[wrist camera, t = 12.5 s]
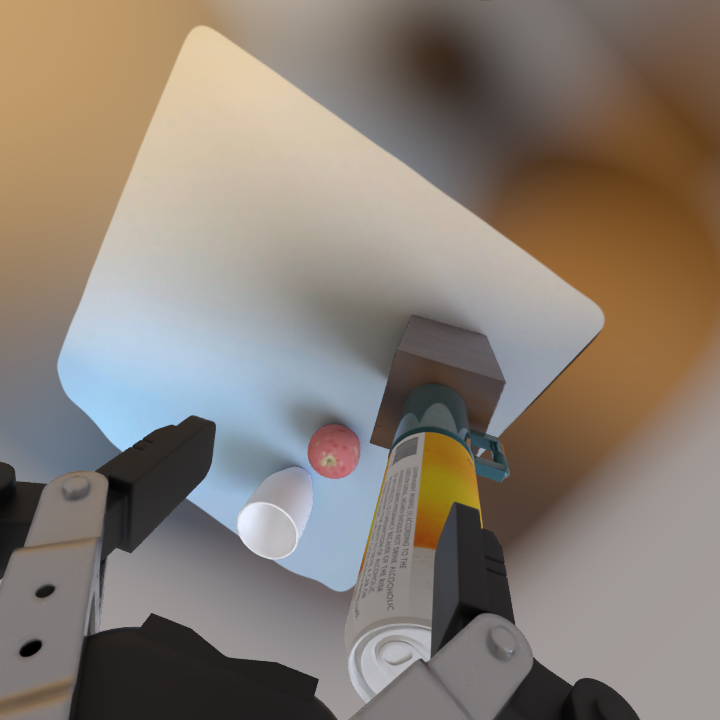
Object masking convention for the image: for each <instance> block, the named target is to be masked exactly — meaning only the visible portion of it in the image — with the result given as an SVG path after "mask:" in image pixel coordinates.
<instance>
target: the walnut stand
mask: <svg viewBox="0 0 720 720" xmlns="http://www.w3.org/2000/svg"><path fill="white" fill-rule="evenodd" d="M430 383H436V384H442V385H445V386H448V387H450V388H452V389H454V390H455V391H456V392H457V393H459V394H460V396H461V397H462V398H463V400H464V401H465V403H466V405H467V409H468V415H469V423H470V429H472V430H476V431H479V432H482V433H485V434H486V431H487V429H488V426H489V424H490V421H491V419H492V416H493V414H494V411H495V409H496V406H497V404H498V401H499V399H500V396H501V394H502V391H503V389H504V386H505V384H506V381H505V379H504V377H503V374H502V372H501V369H500V367H499V365H498V362H497V360H496V358H495V355H494V353H493V350H492V348H491V346H490V343H489V341H488V339H487V336H485V335H481V334H478V333H475V332H471V331H468V330H464V329H461V328H457V327H454V326H450V325H447V324H443V323H440V322H436V321H433V320H429V319H426V318H422V317H419V316H415V315H412V316H411V318H410V321H409V323H408V325H407V328H406V330H405V332H404V334H403V337H402V339H401V341H400V344H399V346H398V348H397V350H396V354H395V357H394V361H393V364H392V368H391V371H390V375H389V378H388V381H387V385H386V388H385V392H384V395H383V399H382V402H381V405H380V409H379V412H378V416H377V419H376V423H375V426H374V429H373V433H372V436H371V440H370V443H371V444H374V445H377V446H381V447H384V448H387V449H390V447H391V444H392V440H393V436H394V432H395V429H396V425H397V421H398V417H399V413H400V410H401V406H402V403H403V401H404V399H405V397H406V396H407V395H408V394H409V393H410V392H411V391H412V390H413V389H415V388H416V387H418V386H421V385H424V384H430ZM472 446H473V453H474V456H477V454H478V451H479V449H480V447H477V446H474V445H472Z"/></svg>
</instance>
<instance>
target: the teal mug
mask: <svg viewBox="0 0 720 720" xmlns="http://www.w3.org/2000/svg"><path fill="white" fill-rule="evenodd" d="M423 432H433V433H439V434H443V435H446V436H448V437H451V438H453V439H454V440H456V441H457V442H459V443H460V444H461V445H462V446H463V447H464V448H465V449H466V450H467V451H468V453H469V454H470V456H471V458H472V460H473V462H474V466H475V472H476V474H477V475H480V476H483V477H487V478H489V479H493V480H496V481H499V482H502V480H503V479H504V478H507V477H508V476H509V474H510V471H509V467H508V464H507V460H506V456H505V453H504V449H503V445H502V443H501V442H500V441H498V439H497V437H495V436H491V435H488V434H485V433H482V432H479V431H476V430H472V429H470V423H469V415H468V409H467V405H466V403H465V401H464V400H463V398H462V397H461V396H460V394H459V393H457V392H456V391H455V390H454V389H452V388H450V387H448V386H445V385H442V384H436V383H430V384H424V385H421V386H418V387H416V388H415V389H413V390H412V391H411V392H410V393H409V394H408V395H407V396H406V397H405V399H404V401H403V403H402V406H401V410H400V413H399V417H398V421H397V425H396V429H395V432H394V436H393V440H392V444H391V447H390V451H389V456H390V454H391V452H392V450H393V449H394V447H395V446H396V445H397V444H398V443H399V442H400V441H402V440H403V439H405V438H406V437H408V436H411V435H413V434H417V433H423ZM472 445H474V446H477V447H480V448H483V449H487V450H490V451H491V452H492V456H493V461H494V462H493V461H490V460H487V459H483V458H480V457H477V456H474V453H473V446H472ZM389 456H388V459H389Z"/></svg>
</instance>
